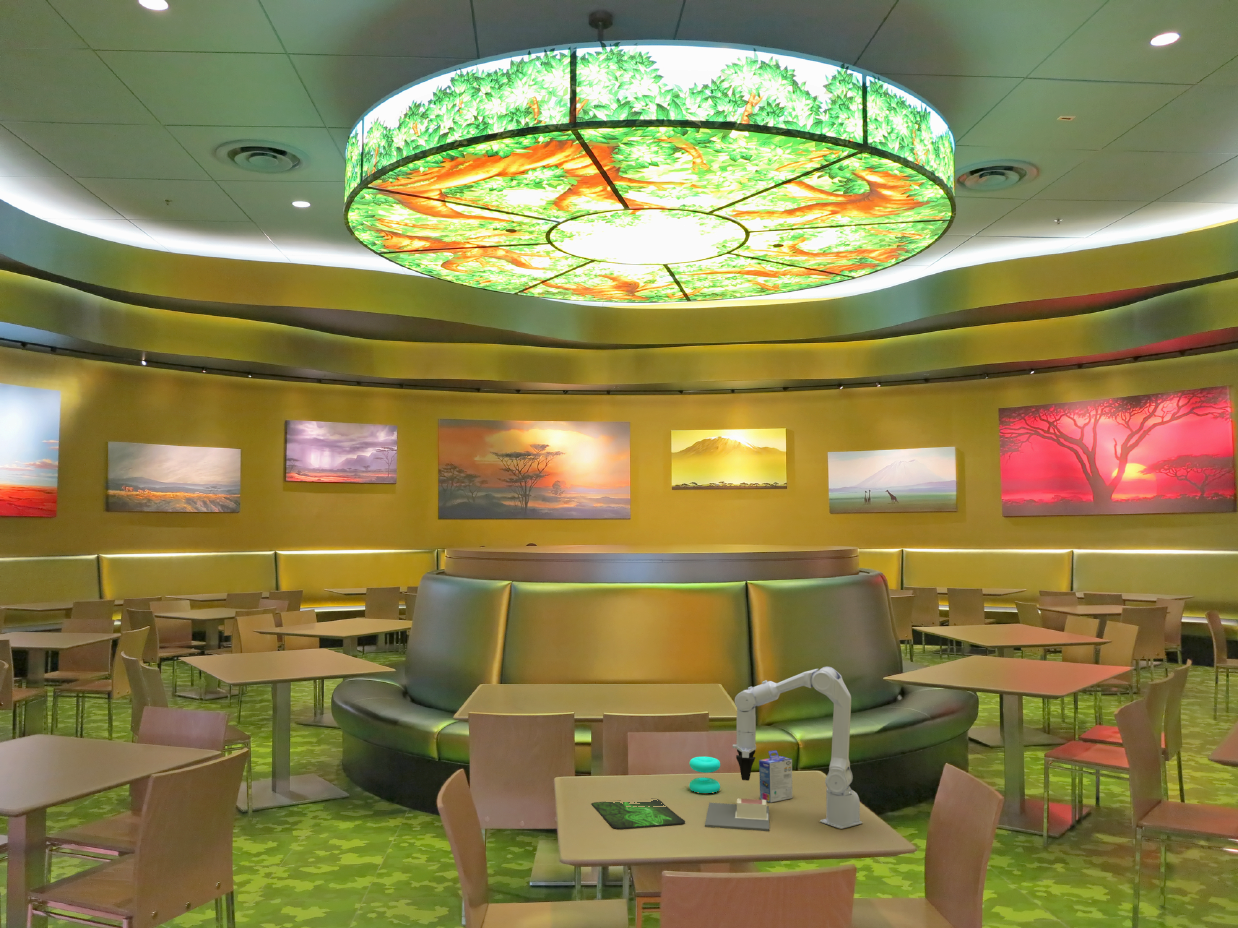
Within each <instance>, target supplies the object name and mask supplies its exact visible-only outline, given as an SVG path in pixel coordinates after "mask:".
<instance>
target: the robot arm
mask: <svg viewBox="0 0 1238 928" xmlns="http://www.w3.org/2000/svg"><path fill="white" fill-rule="evenodd" d="M800 687H806V688H809V689H812V688H814V689H815V690H816V691H817V692H819V693H821V694H822V695H825V696H826V697H827V698H828V699H829V700H830V701H831V702H832V703H833V715H832V716H833V717H832V735H831V737H832V738H831V756H830V761H829V767H828V770H829V771H828V773H827V775H826V777H825V781H824V783H825V786H826V800H825V801H826V818H822V819H820V820H819V822H820V823H821V824H825V825H828V826H831V827H834V828H837V829H841V830H842V829H846V828H850V827H854V826H857V825H861V824H863V821H861V820H860V819H861V818H860V817H861V816H860V815H861V813H860V812H861V811H860V810H861V808H860V807H861V805H860V804H861V803H860V797H859V795H858V793H857V792H856V791H854V790H853V789H852V788H851V786H850V785H851V783H852V782H853V779H854V778H853V777H854V776H853V772H852V770H851V762H850V758H849V757H850V756H849V754H850V753H849V752H850V738H851V737H850V734H851V732H850V731H851V715H852V713H851V712H852V708H851V707H852V695H851V693H850V691H849V690H848V688H847V685H846V684H845V682H844V680H843V676H842V674H840V673H839V672H838V671H837V670H836V669H835V668H833V667H831V666H823V667H822V668H820V669H819V668H814V669H810V670H807V671H803V672H801V673H798V674H796V675H793V676H791V677H789V678H785V679H784V680H782V681H779V682H774V681H772V680H767V679H765V680H764V681H762V682H761V684H758V685H756V686H749V687H747V689H743V690H742V691H740V692H739V693H737V694H736V695H735V697H734V705H735V707H736V744H734V743H733V744H732V749H736V751H737V754H736V755H735V758H736V760H737V763H738V767H739V771H740V777H741V780H742V781H750V778H751V775H752V774H751V773H752V768H753V764H754V762H755V760H756V757H755V756H754V755H755V753H756V750H757V745H756V744H757V743H756V741H757V740H756V736H757V734H756V732H757V731H756V728H757V727H756V726H757V725H756V724H757V723H756V721H757V720H756V718H757V717H756V716H757V715H756V707H761V706H764V705H765V704H769V703H771V702H773V701H774V702H775V701H776V700H778V699H779V697H780V695H781V694H782V693H786V692H788V691H792V690H794V689H798V688H800Z"/></svg>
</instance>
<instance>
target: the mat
mask: <svg viewBox="0 0 1238 928" xmlns="http://www.w3.org/2000/svg"><path fill="white" fill-rule="evenodd" d="M769 807H770V806H768V805H766V819H757V818H741V817H737V803H721V802H709V803H708V807H707V813H706V818H705V822H704V827H705V828H715V827H720V829H730V830H731V829H732V830H733V829H735V830H748V831H749V830H750V831H763V832H769V831H770V808H769Z"/></svg>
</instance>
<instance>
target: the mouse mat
mask: <svg viewBox="0 0 1238 928" xmlns="http://www.w3.org/2000/svg"><path fill="white" fill-rule="evenodd" d="M656 799H657V800H658V801H657V800H653V801H651V802H637V803H640V804H629V803H630V802H623V804H622V803H620V802H615V803H613V802H606V801H595V802H592V803H590V805H591V807H593V809H595V811H596V812H597V813H598V814H599V815H600V816H601V818H603V819H604V821H606V823H608V824H609V825H610V827H611V828H613V829H615V830H629V829H640V828H641V829H642V828H655V827H666V826H667V827H668V826H676V825H677V826H678V825H680V826H681V825H683V824H685V823H686V820H685V819H684V818H682V817H681V816H679V814H677V813H675V812H674V811H673V810H672V809H670V808H669V807H668V806H667V805H665V803H664V802H663V801H661V800H660V799H659V798H656ZM634 803H635V802H634ZM661 803H662V804H661ZM663 805H664V806H666V807H653V806H663ZM626 806H631V807H626ZM633 806H637V807H633ZM638 806H645V807H638ZM648 806H650V807H648Z"/></svg>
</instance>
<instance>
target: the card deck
mask: <svg viewBox="0 0 1238 928" xmlns="http://www.w3.org/2000/svg"><path fill="white" fill-rule="evenodd" d="M736 804H737V817H741V818H757V819H766V806H767V801H766V800H762V799H755V798H754V799H753V798H739V797H738V798H737V799H736Z"/></svg>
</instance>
